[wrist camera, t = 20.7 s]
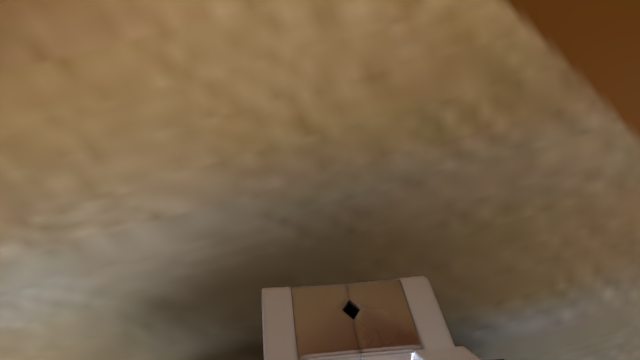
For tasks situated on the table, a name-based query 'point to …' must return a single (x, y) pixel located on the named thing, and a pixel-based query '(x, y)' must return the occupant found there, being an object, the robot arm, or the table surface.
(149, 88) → the table surface
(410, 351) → the robot arm
